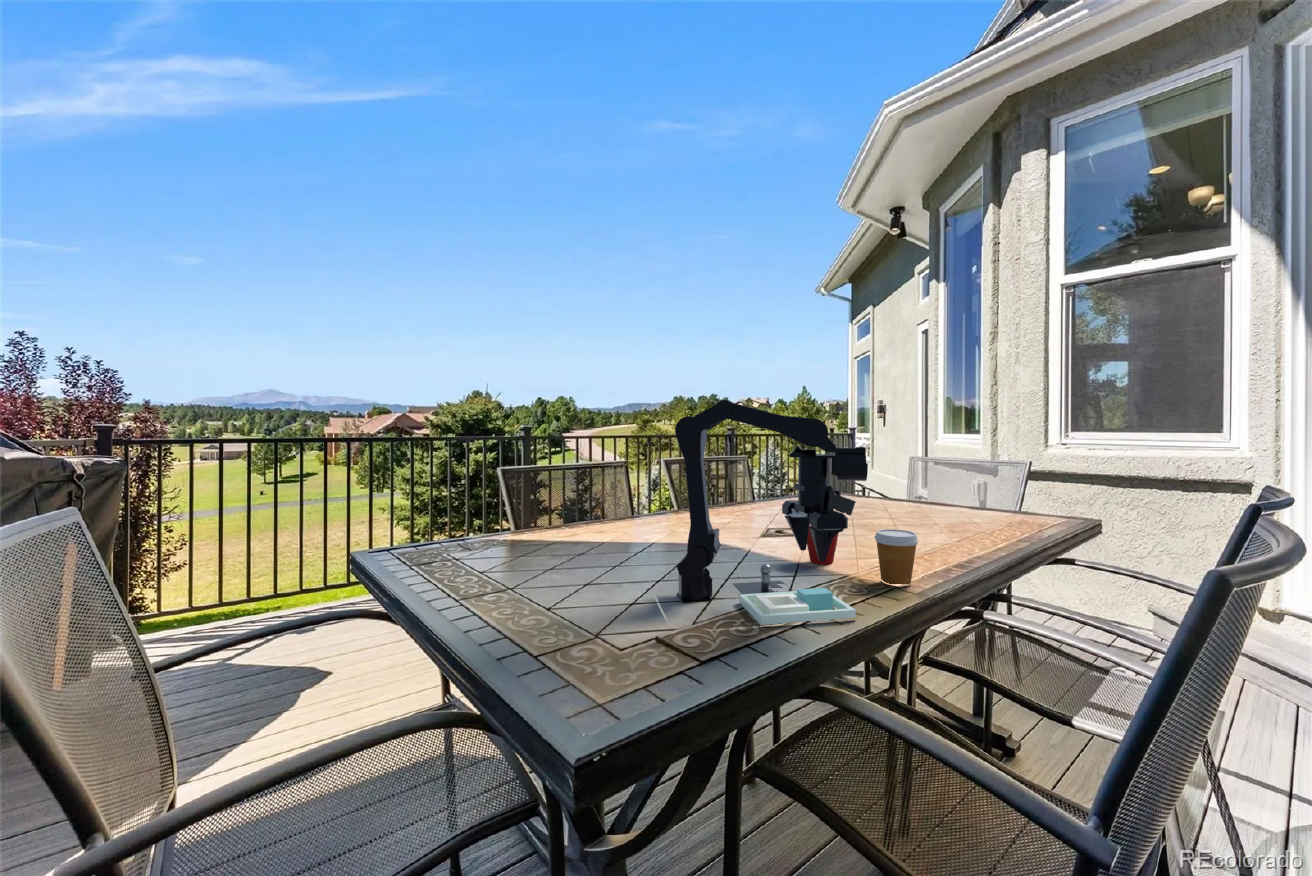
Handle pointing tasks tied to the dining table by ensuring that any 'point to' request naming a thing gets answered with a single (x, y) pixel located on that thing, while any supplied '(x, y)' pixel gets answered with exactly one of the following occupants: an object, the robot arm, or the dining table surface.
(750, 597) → the tray
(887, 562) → the disposable coffee cup
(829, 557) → the plastic cup
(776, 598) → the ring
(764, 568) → the peg stand
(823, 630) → the dining table surface
